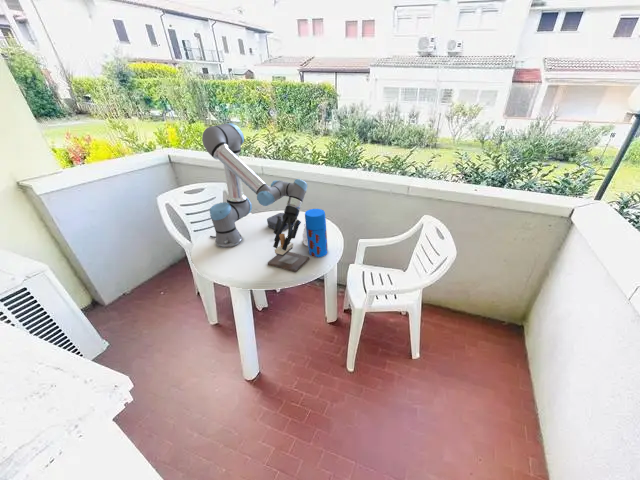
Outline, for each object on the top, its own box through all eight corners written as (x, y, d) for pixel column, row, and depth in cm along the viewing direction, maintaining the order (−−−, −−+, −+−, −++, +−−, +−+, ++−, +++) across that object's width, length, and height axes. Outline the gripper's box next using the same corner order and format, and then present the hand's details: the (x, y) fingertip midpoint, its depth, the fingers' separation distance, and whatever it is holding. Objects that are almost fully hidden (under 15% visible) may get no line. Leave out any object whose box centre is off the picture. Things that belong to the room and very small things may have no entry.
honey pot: (326, 245, 171) (324, 217, 161) (305, 248, 168) (301, 220, 157) (321, 235, 181) (319, 209, 171) (301, 238, 178) (298, 211, 167)
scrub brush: (283, 256, 148) (280, 239, 142) (275, 254, 150) (271, 238, 144) (293, 247, 156) (291, 231, 150) (286, 246, 157) (283, 229, 152)
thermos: (318, 245, 170) (315, 206, 156) (331, 251, 164) (329, 211, 150) (305, 253, 163) (300, 213, 149) (318, 259, 157) (314, 218, 143)
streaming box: (296, 224, 195) (295, 217, 192) (281, 232, 185) (279, 224, 182) (282, 218, 201) (281, 212, 199) (266, 226, 192) (265, 219, 189)
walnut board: (268, 264, 153) (267, 262, 153) (283, 252, 164) (282, 249, 163) (295, 272, 147) (295, 269, 147) (309, 259, 158) (309, 256, 157)
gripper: (310, 213, 151) (297, 254, 148) (282, 208, 157) (269, 247, 154) (304, 207, 144) (290, 250, 141) (275, 202, 150) (261, 243, 147)
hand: (279, 248), depth 148 cm, fingers closed on scrub brush, 5 cm apart
